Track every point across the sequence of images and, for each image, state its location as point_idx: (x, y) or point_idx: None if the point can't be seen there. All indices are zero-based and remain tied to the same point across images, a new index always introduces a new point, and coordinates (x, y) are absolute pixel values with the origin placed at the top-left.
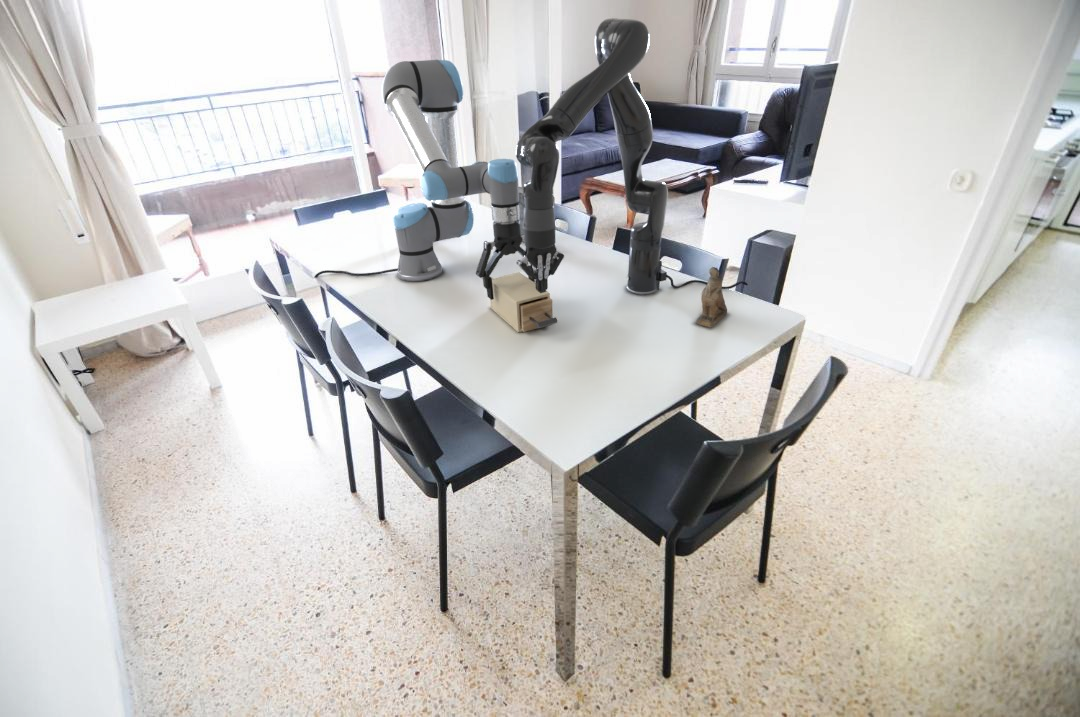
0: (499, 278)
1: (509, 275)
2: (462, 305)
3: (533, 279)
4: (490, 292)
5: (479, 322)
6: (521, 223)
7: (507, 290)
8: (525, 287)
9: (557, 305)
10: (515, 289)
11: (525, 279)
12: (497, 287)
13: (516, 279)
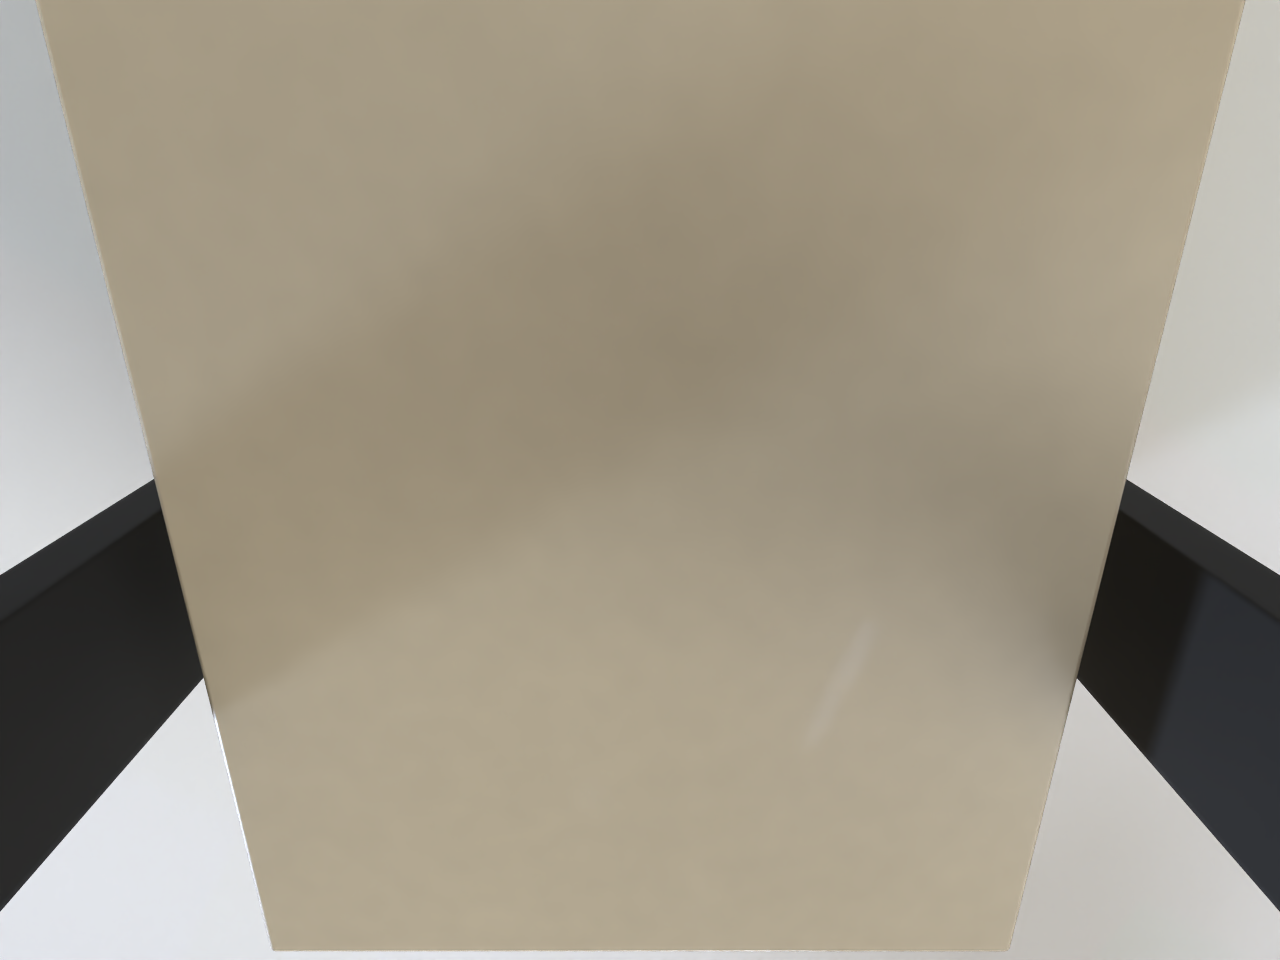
0: (790, 895)
1: (532, 918)
2: (1052, 810)
3: (76, 548)
4: (1191, 533)
5: (1176, 338)
6: None
7: (1064, 156)
8: (487, 29)
9: (28, 212)
10: (829, 78)
11: (275, 567)
12: (1107, 528)
13: (484, 677)
